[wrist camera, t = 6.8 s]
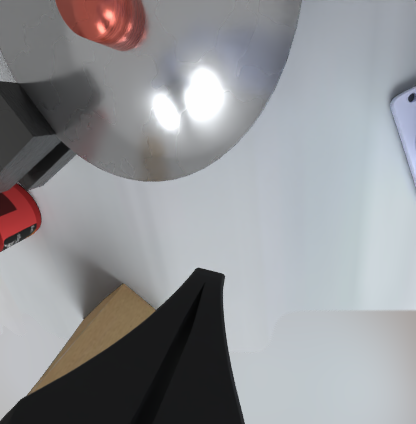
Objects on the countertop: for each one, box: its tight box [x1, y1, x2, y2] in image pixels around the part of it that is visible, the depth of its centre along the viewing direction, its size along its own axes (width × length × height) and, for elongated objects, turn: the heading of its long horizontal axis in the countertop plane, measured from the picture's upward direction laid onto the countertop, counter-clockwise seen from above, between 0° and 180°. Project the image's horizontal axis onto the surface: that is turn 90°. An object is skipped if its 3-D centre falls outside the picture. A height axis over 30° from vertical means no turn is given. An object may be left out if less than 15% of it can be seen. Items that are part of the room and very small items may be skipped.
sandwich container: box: [28, 284, 156, 395], centre depth 27 cm, size 9×15×15 cm, turn 137°
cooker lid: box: [0, 0, 302, 193], centre depth 10 cm, size 23×15×3 cm, turn 121°
